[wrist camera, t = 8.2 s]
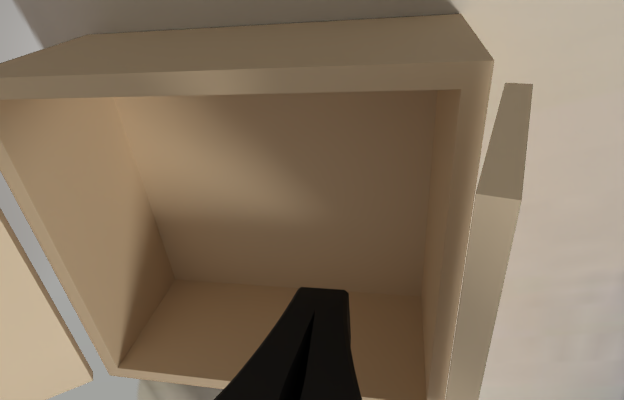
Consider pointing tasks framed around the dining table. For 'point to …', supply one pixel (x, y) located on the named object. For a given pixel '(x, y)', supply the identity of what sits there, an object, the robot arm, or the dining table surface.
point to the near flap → (490, 241)
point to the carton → (254, 188)
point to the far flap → (32, 331)
